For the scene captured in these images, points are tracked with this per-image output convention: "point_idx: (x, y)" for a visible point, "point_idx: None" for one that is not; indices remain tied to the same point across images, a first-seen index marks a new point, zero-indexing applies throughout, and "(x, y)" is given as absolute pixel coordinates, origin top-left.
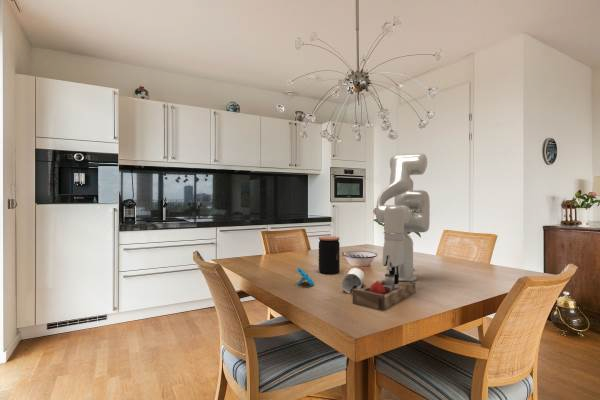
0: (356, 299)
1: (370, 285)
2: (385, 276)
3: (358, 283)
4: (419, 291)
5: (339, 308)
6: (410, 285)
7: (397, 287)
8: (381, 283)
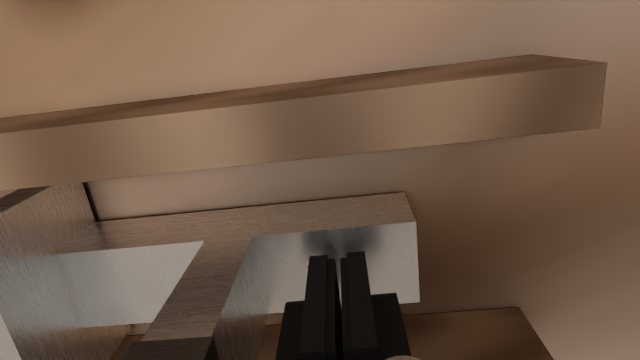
0: None
1: (6, 142)
2: (139, 345)
3: None
4: (588, 342)
5: None
6: None
7: None
8: (247, 163)
